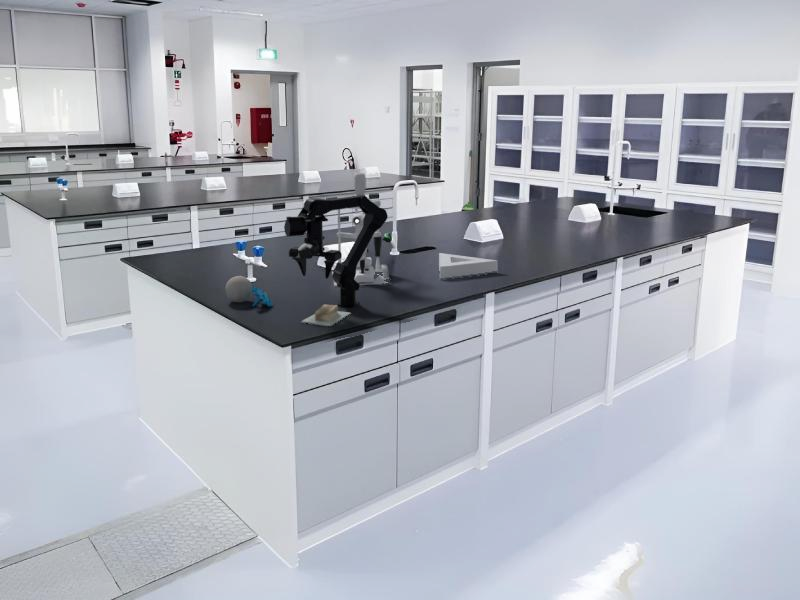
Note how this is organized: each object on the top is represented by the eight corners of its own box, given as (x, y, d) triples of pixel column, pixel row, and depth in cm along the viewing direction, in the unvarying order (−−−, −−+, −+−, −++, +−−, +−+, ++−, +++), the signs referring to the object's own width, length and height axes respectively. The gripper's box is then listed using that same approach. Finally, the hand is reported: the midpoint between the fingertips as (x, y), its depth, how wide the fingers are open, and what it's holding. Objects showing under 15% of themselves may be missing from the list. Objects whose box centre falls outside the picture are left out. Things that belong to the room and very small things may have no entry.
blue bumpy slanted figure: (270, 306, 251) (251, 286, 250) (259, 317, 252) (239, 297, 251) (277, 302, 262) (258, 283, 261) (266, 313, 263) (247, 294, 262)
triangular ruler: (438, 266, 328) (439, 252, 327) (494, 267, 327) (494, 253, 326) (439, 281, 299) (440, 266, 298) (500, 282, 298) (501, 267, 297)
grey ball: (227, 306, 256) (225, 280, 254) (225, 299, 266) (224, 273, 263) (254, 304, 259) (253, 278, 256) (252, 297, 268) (251, 272, 266)
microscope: (334, 287, 285) (332, 176, 273) (331, 272, 311) (329, 170, 299) (392, 286, 288) (393, 176, 276) (385, 271, 314) (385, 170, 302)
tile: (315, 320, 238) (315, 312, 237) (324, 312, 248) (324, 304, 247) (329, 321, 237) (329, 313, 236) (337, 313, 247) (337, 305, 246)
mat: (323, 310, 252) (323, 309, 252) (350, 314, 248) (350, 312, 248) (301, 322, 237) (301, 321, 237) (330, 326, 234) (330, 325, 233)
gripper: (279, 235, 243) (281, 279, 247) (327, 240, 236) (328, 284, 240) (296, 231, 253) (297, 272, 257) (342, 234, 246) (342, 277, 250)
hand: (315, 277), depth 251 cm, fingers open, 9 cm apart
